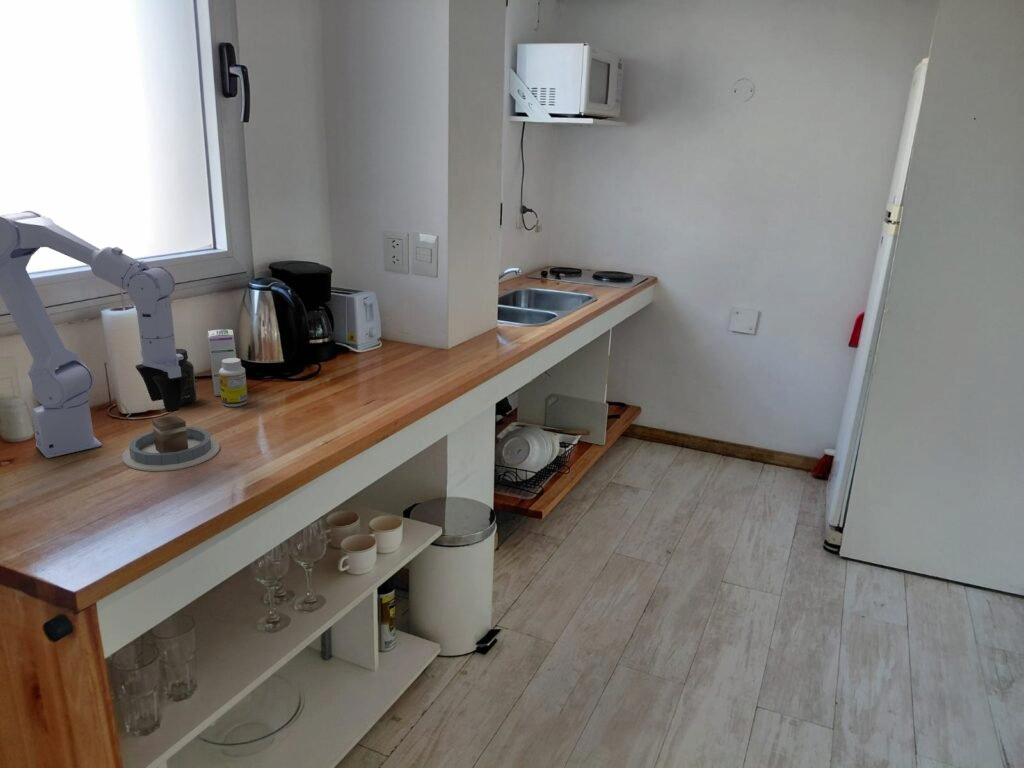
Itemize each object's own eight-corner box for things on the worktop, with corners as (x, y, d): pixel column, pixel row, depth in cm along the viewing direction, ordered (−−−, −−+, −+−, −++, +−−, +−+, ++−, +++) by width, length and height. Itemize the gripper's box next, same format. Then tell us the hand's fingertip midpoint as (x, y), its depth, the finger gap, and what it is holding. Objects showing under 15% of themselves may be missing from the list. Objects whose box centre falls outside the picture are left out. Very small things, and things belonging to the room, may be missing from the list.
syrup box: (240, 394, 178) (235, 334, 173) (213, 396, 175) (207, 335, 171) (239, 386, 183) (234, 328, 178) (212, 389, 180) (207, 329, 176)
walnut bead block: (164, 456, 141) (160, 426, 140) (155, 449, 145) (151, 419, 143) (189, 450, 144) (185, 421, 143) (179, 443, 148) (176, 414, 146)
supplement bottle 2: (222, 400, 173) (218, 357, 170) (248, 398, 175) (244, 355, 172) (221, 408, 168) (217, 364, 165) (247, 406, 170) (244, 362, 167)
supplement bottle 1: (159, 401, 171) (153, 350, 167) (189, 395, 176) (184, 345, 172) (171, 409, 166) (165, 357, 163) (202, 403, 171) (197, 352, 167)
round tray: (141, 479, 133) (139, 466, 132) (109, 450, 145) (107, 437, 144) (234, 455, 144) (233, 442, 144) (198, 429, 156) (197, 418, 155)
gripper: (195, 340, 136) (202, 411, 140) (165, 324, 146) (172, 391, 150) (154, 346, 131) (162, 419, 135) (125, 329, 141) (134, 398, 145)
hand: (165, 405), depth 142 cm, fingers open, 7 cm apart
